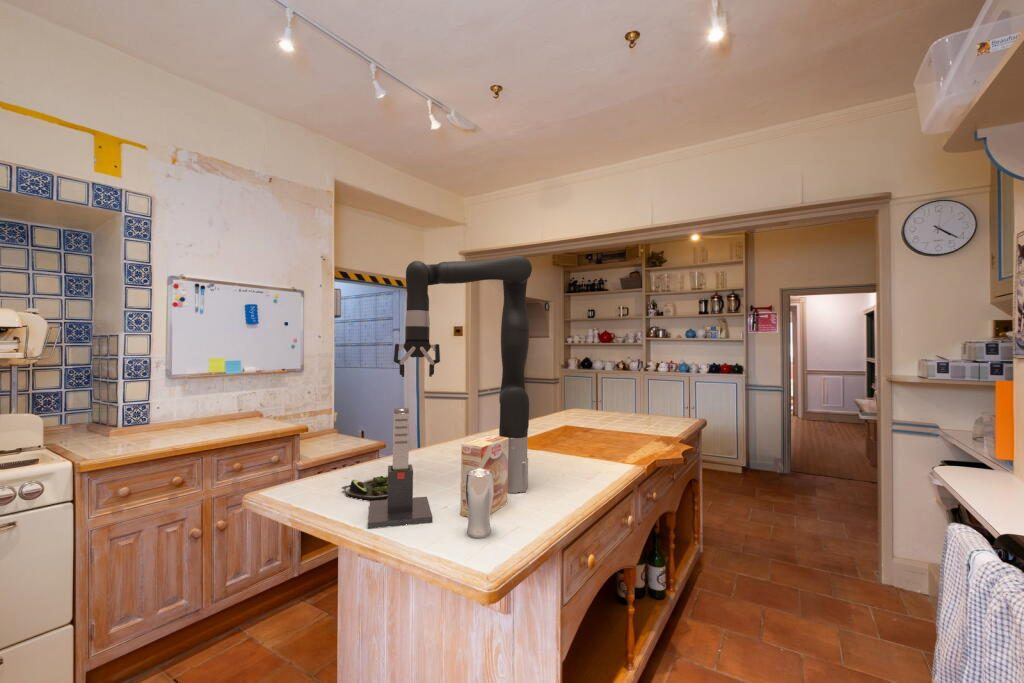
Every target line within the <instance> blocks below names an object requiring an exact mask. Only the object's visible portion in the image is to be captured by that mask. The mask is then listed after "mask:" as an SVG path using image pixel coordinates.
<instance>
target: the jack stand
mask: <svg viewBox="0 0 1024 683" xmlns="http://www.w3.org/2000/svg"><path fill="white" fill-rule="evenodd" d="M392 467H393V464H392V465H387V475H388V499H386V500H377V501H369V506H368V507H369V508H368V518H367V529H368V528H370V529H378V528H377V527H381V528H388V527H387V526H391V527H398V525H402V526H409V525H408V524H412V525H419V523H422V524H432V523H433V514H432V510H431V506H430V504H429V499H428V497H427V496H418V497H416V496H414V468H413V465H412V464H411V463H410V464H409V463H408V468H409V470H401V471H393V469H392ZM406 524H407V525H406ZM375 527H376V528H375Z"/></svg>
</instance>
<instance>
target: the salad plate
mask: <svg viewBox="0 0 1024 683" xmlns="http://www.w3.org/2000/svg"><path fill="white" fill-rule="evenodd" d="M341 489H342V490H344V492H345V494H346V496H347V495H348V496H349V497H348V496H347V497H348V498H351V497H353V498H352V499H354V498H357V499H356V500H359V499H362V500H361V501H364V500H369V501H368V502H370V501H377V500H385V499H386V500H388V474H386V475H385V476H382V475H380V476H376V477H373V478H372V479H367V480H364V481H359V480H357V479H352V480H351V483H350V484H349V485H345V486H341Z"/></svg>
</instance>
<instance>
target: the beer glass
mask: <svg viewBox="0 0 1024 683" xmlns="http://www.w3.org/2000/svg"><path fill="white" fill-rule="evenodd" d="M493 492H494V483H493V471H491V470H488V469H472V470H469V471H467V474H466V486H465V495H466V503H467V510H468V517H467V518H468V520H467V528H466V535H467V536H468V537H469V538H473V539H485V538H488V537H489V536H491V534H492V527H491V522H490V521H491V514H490V512H491V507H492V501H493Z"/></svg>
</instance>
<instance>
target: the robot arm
mask: <svg viewBox="0 0 1024 683" xmlns="http://www.w3.org/2000/svg"><path fill="white" fill-rule="evenodd" d="M532 271H533V266H532V264H531V261H530V260H529V258H527V257H526V256H524V255H521V254H515V255H514V254H513V255H511V256H506V257H502V258H501V257H500V258H494V259H487V260H463V261H462V260H459V261H457V260H456V261H454V260H453V261H452V260H451V261H441V262H439V263H434V264H430V263H429V264H425V262H423V261H420V260H414V261H412V262H410V263H409V264H407V266H406V269H405V288H406V313H405V319H404V320H405V321H404V322H405V324H404V325H405V326H404V334H405V335H404V343H403V344H401V343H395V344H394V351H393V362H394V364H398V365H399V376H401V377H402V378H405V362H407V360H409V358H410V357H411V358H425V359H426V361H427V362H428V363H429V365H428V367H429V369H428V376H429V378H431V377H432V376H434V374H435V365H436V364H439V363H441V357H440V356H441V352H440V344H438V343H436V344H431V343H430V328H431V327H430V326H431V322H430V320H431V319H430V296H429V286H434V285H440V284H441V285H442V284H443V285H445V284H446V285H448V284H449V285H452V284H453V285H454V284H455V285H456V284H467V283H474V282H480V281H481V282H482V281H490V280H491V281H492V280H493V281H495V280H496V281H498V280H499V281H502V286H503V306H502V312H501V323H500V324H501V325H500V356H501V366H502V372H501V373H502V375H501V382H500V384H501V385H500V392H499V398H498V400H499V405H500V406H499V426H498V428H499V429H498V431H499V432H498V433H499V434H498V435H499V436H501V437H507V438H509V447H508V494H519V493H518V492H520V493H526V492H527V489H528V488H529V457H528V437H529V434H528V432H529V425H530V424H529V422H530V421H529V420H530V398H529V395H528V393H527V392H526V384H525V381H526V380H525V368H526V362H527V358H528V352H529V342H530V322H529V316H528V309H527V301H526V298H527V297H526V296H527V286H528V280H529V278H530V277H531V275H532V273H533V272H532ZM402 349H404V350H405V352H406V353H405V354H404V356H403V357H402V358H401V359H399V352H400V351H402ZM431 349H432V351H433V352H434V359H432V357H431V356H430V354H429V351H430V350H431ZM527 487H528V488H527Z"/></svg>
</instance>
